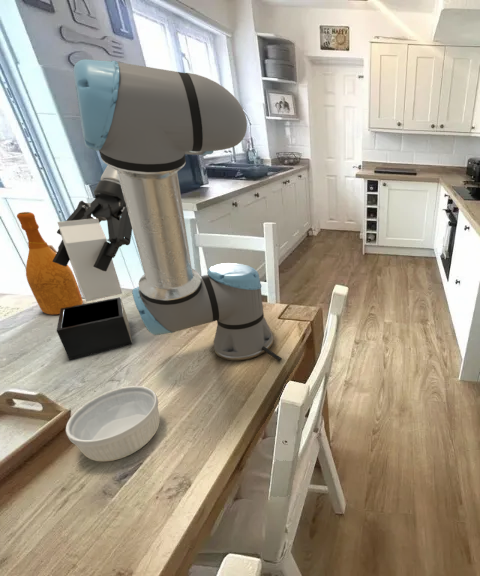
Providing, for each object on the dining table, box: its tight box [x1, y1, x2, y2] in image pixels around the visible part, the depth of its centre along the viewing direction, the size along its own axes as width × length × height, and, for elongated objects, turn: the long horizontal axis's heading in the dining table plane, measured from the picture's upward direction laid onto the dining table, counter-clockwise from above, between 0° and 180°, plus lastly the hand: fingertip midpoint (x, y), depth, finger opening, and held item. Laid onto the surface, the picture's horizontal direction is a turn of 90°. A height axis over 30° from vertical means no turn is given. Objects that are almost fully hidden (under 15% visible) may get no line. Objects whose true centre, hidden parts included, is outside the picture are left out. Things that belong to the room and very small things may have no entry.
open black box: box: [56, 296, 133, 361], centre depth 86 cm, size 13×13×9 cm
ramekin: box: [65, 385, 160, 462], centre depth 61 cm, size 13×13×7 cm
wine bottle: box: [16, 211, 84, 315], centre depth 94 cm, size 10×10×30 cm
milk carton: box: [57, 217, 123, 302], centre depth 79 cm, size 7×7×19 cm
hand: (79, 266), depth 76 cm, fingers closed on milk carton, 10 cm apart
